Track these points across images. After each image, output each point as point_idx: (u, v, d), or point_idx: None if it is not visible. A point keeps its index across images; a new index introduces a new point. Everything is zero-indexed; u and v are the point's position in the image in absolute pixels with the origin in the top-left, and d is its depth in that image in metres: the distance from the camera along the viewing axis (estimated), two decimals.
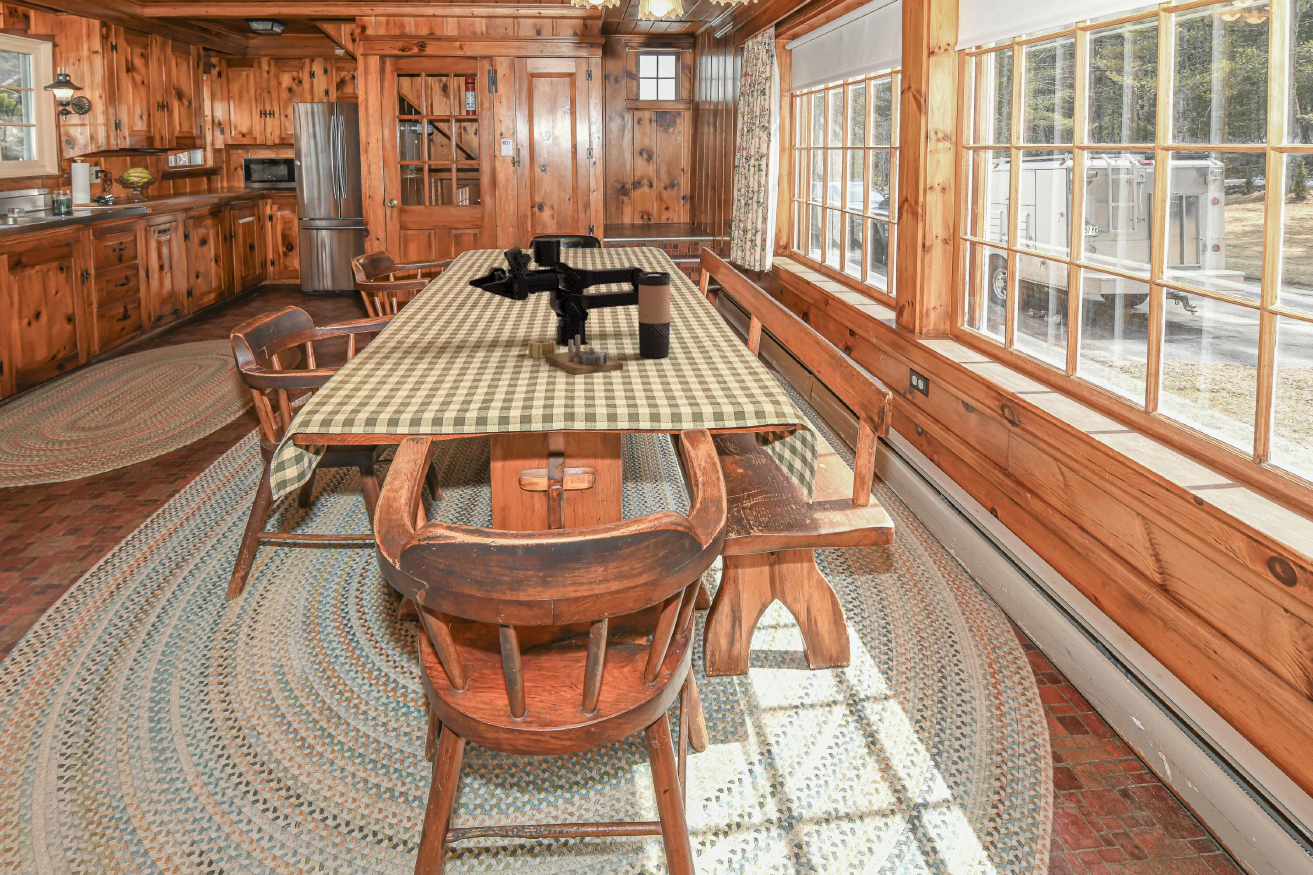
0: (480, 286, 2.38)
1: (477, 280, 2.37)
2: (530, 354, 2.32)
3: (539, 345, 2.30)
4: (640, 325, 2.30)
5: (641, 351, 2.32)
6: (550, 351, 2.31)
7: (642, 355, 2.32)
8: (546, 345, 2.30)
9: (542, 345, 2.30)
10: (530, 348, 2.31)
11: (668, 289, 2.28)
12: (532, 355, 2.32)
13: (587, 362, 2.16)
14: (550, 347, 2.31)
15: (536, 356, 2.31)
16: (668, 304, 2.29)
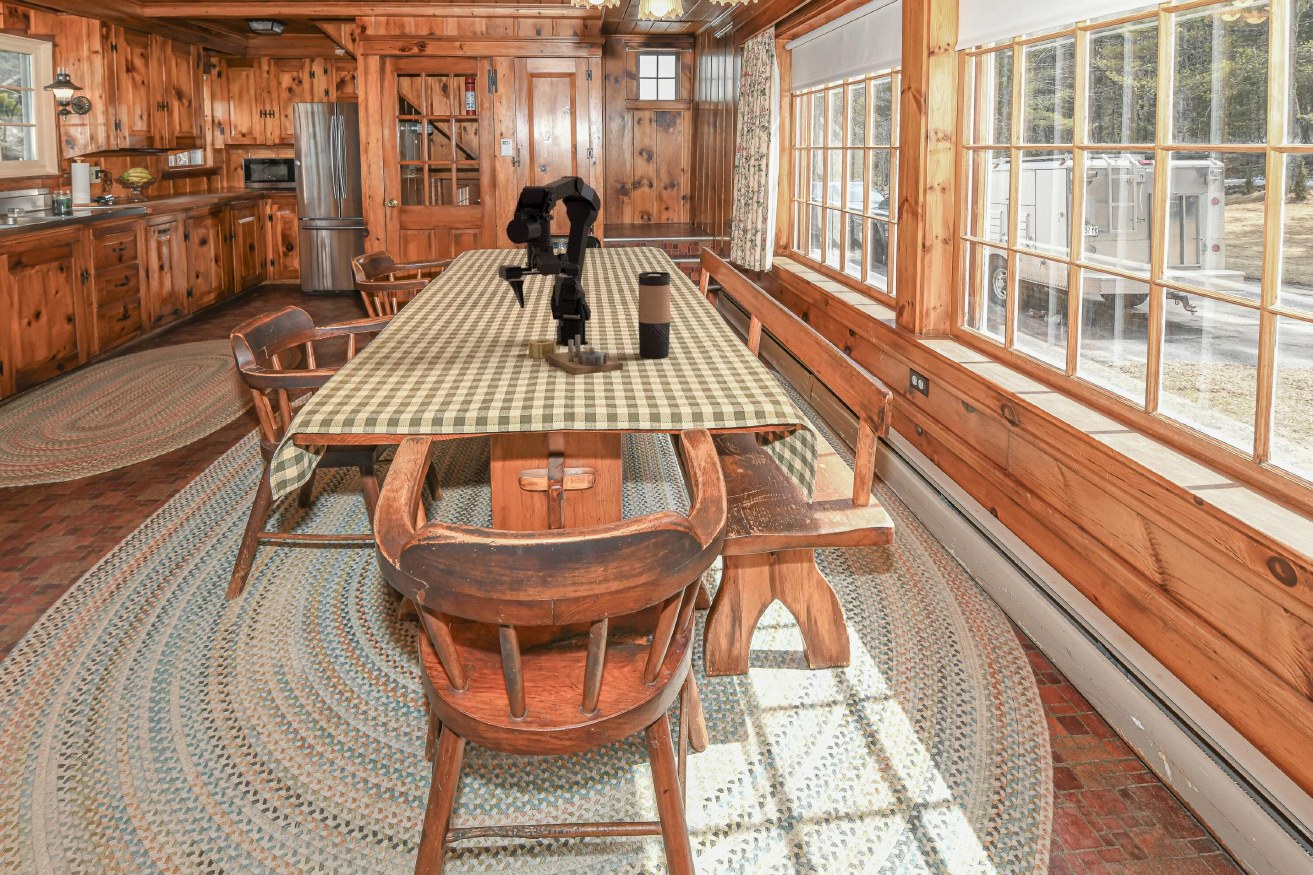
0: None
1: None
2: (530, 354, 2.32)
3: (539, 345, 2.30)
4: (640, 325, 2.30)
5: (641, 351, 2.32)
6: (550, 351, 2.31)
7: (642, 355, 2.32)
8: (546, 345, 2.30)
9: (542, 345, 2.30)
10: (530, 348, 2.31)
11: (668, 289, 2.28)
12: (532, 355, 2.32)
13: (587, 362, 2.16)
14: (550, 347, 2.31)
15: (536, 356, 2.31)
16: (668, 304, 2.29)
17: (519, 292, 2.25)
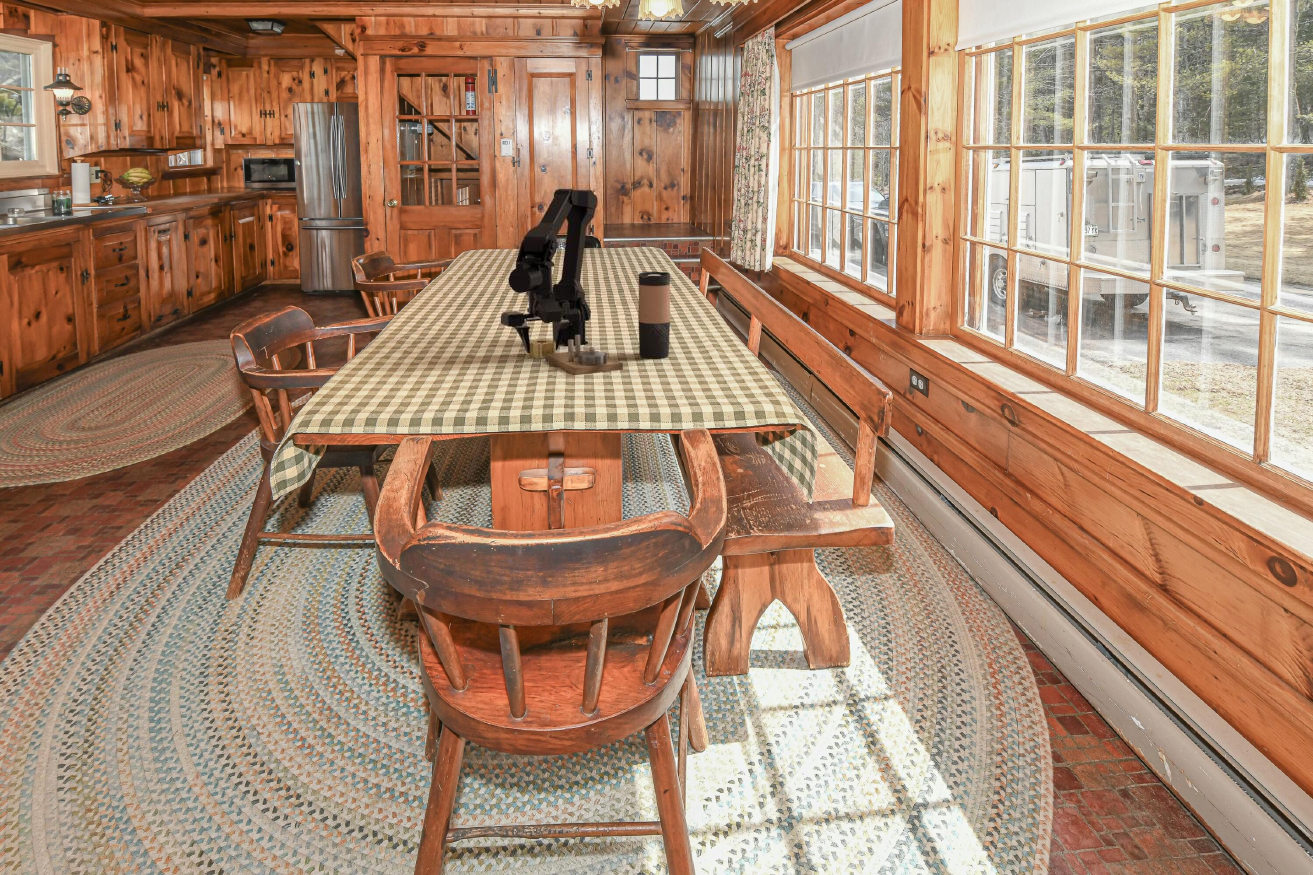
0: None
1: None
2: (530, 354, 2.32)
3: (539, 345, 2.30)
4: (640, 325, 2.30)
5: (641, 351, 2.32)
6: (550, 351, 2.31)
7: (642, 355, 2.32)
8: (546, 345, 2.30)
9: (542, 345, 2.30)
10: (530, 348, 2.31)
11: (668, 289, 2.28)
12: (532, 355, 2.32)
13: (587, 362, 2.16)
14: (550, 347, 2.31)
15: (536, 356, 2.31)
16: (668, 304, 2.29)
17: (525, 338, 2.29)
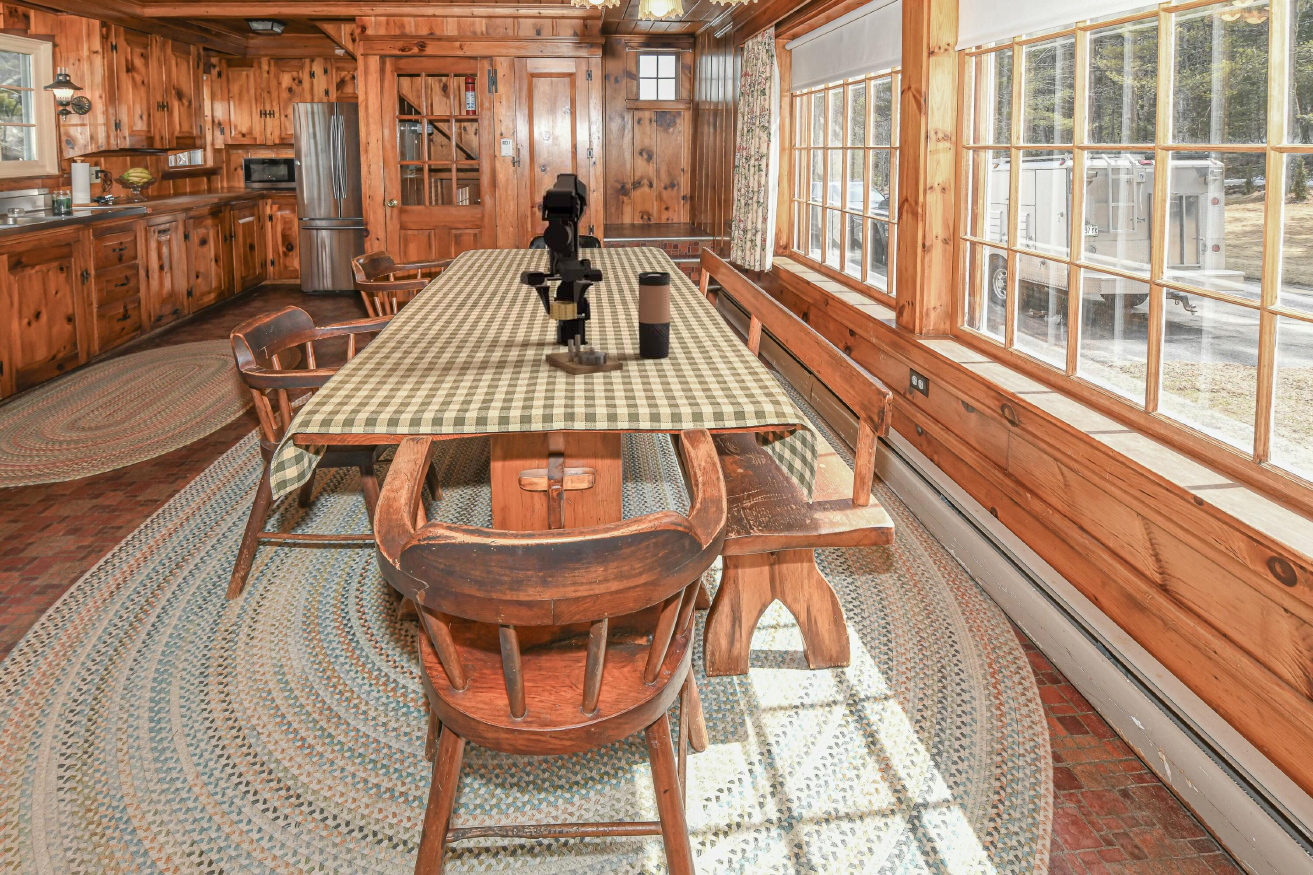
0: None
1: None
2: (550, 315, 2.24)
3: (559, 306, 2.22)
4: (640, 325, 2.30)
5: (641, 351, 2.32)
6: (571, 312, 2.24)
7: (642, 355, 2.32)
8: (567, 306, 2.22)
9: (562, 306, 2.22)
10: (550, 309, 2.24)
11: (668, 289, 2.28)
12: (552, 316, 2.24)
13: (587, 362, 2.16)
14: (570, 308, 2.23)
15: (556, 317, 2.23)
16: (668, 304, 2.29)
17: (545, 298, 2.21)
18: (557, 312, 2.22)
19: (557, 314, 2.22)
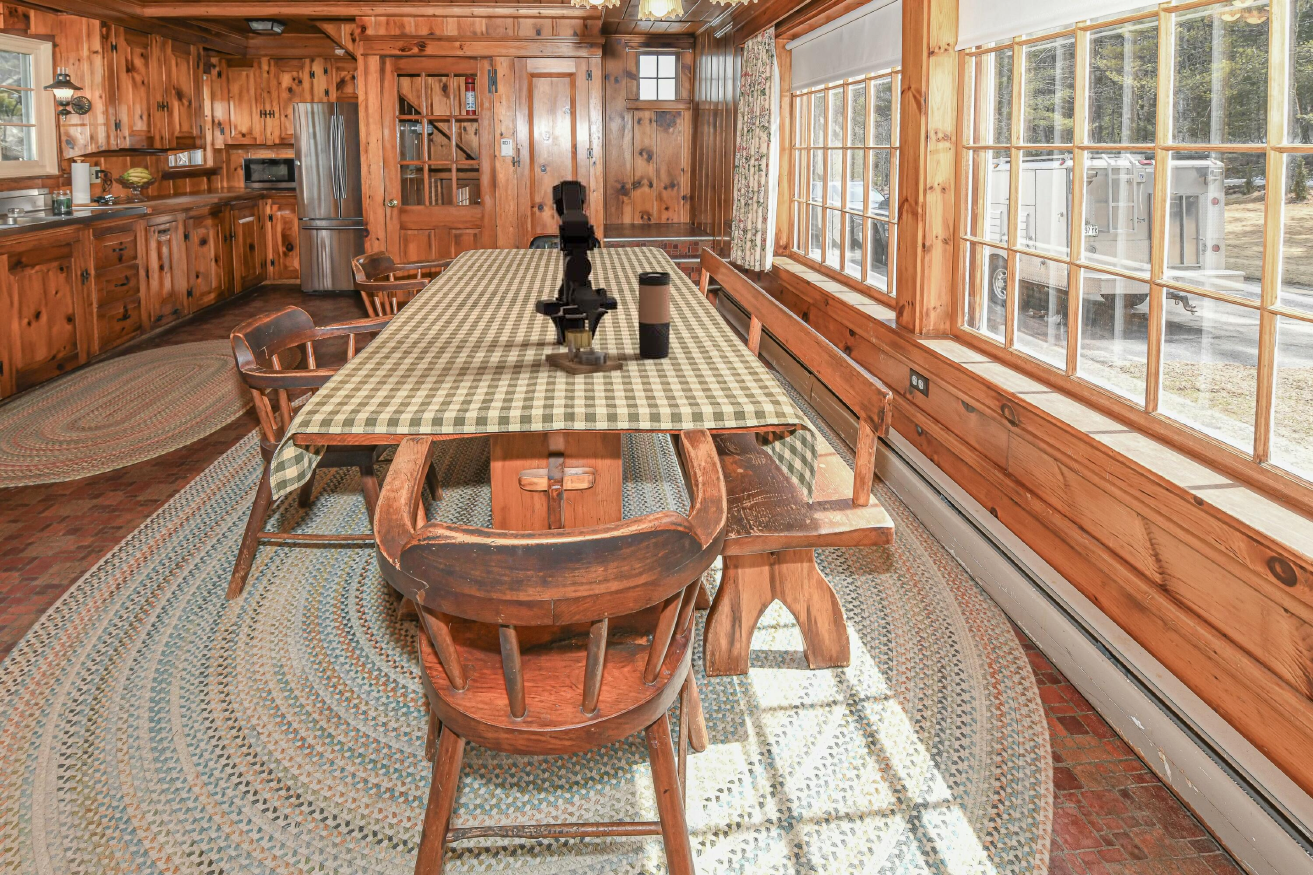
0: None
1: None
2: (565, 344, 2.24)
3: (575, 334, 2.22)
4: (640, 325, 2.30)
5: (641, 351, 2.32)
6: (586, 341, 2.23)
7: (642, 355, 2.32)
8: (582, 334, 2.22)
9: (578, 334, 2.22)
10: None
11: (668, 289, 2.28)
12: (567, 345, 2.23)
13: (587, 362, 2.16)
14: (586, 337, 2.23)
15: None
16: (668, 304, 2.29)
17: (561, 327, 2.21)
18: (573, 341, 2.22)
19: (573, 343, 2.22)
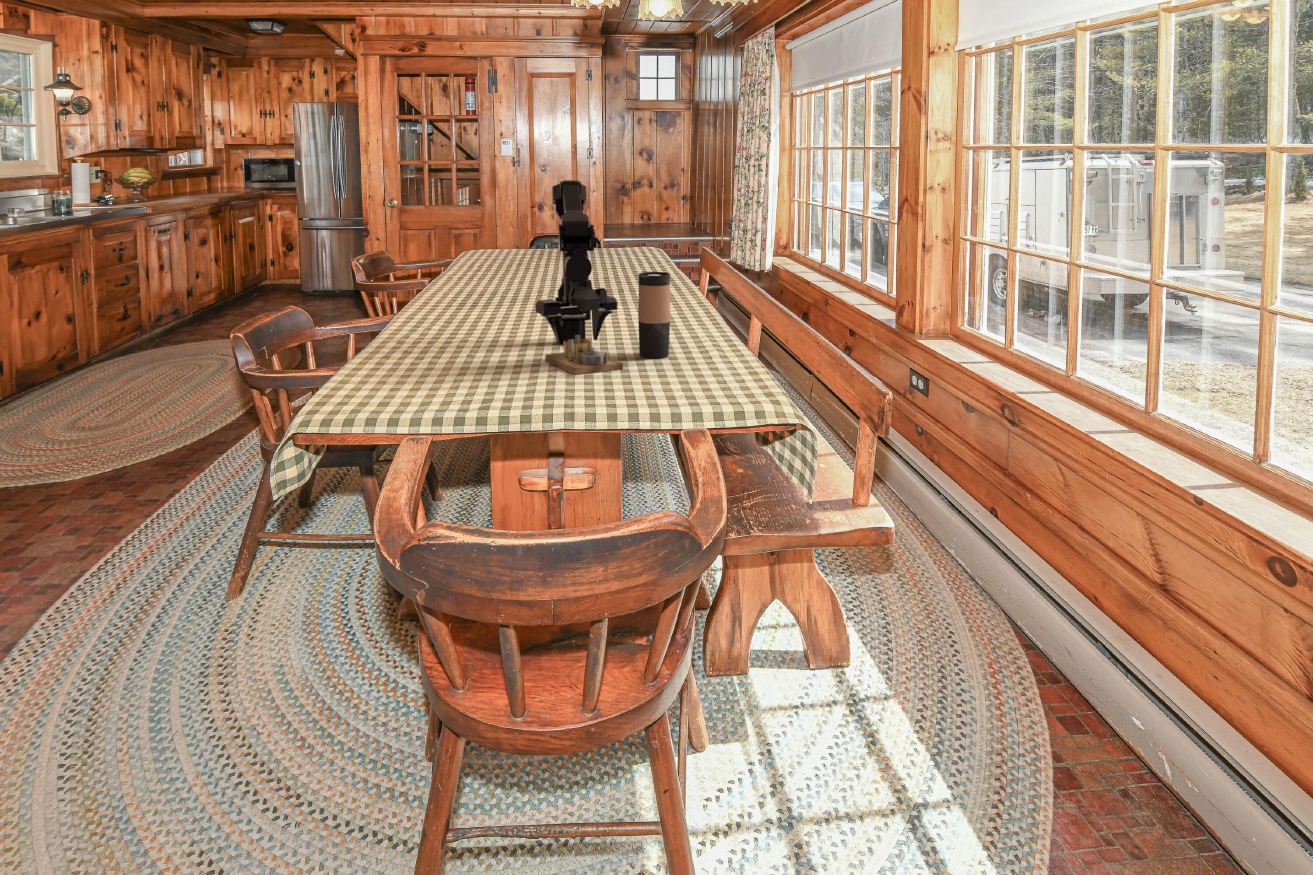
0: None
1: None
2: (566, 354, 2.24)
3: (575, 345, 2.22)
4: (640, 325, 2.30)
5: (641, 351, 2.32)
6: None
7: (642, 355, 2.32)
8: (582, 345, 2.22)
9: (578, 345, 2.22)
10: (566, 348, 2.24)
11: (668, 289, 2.28)
12: None
13: (587, 362, 2.16)
14: (586, 348, 2.24)
15: None
16: (668, 304, 2.29)
17: (557, 327, 2.20)
18: None
19: None
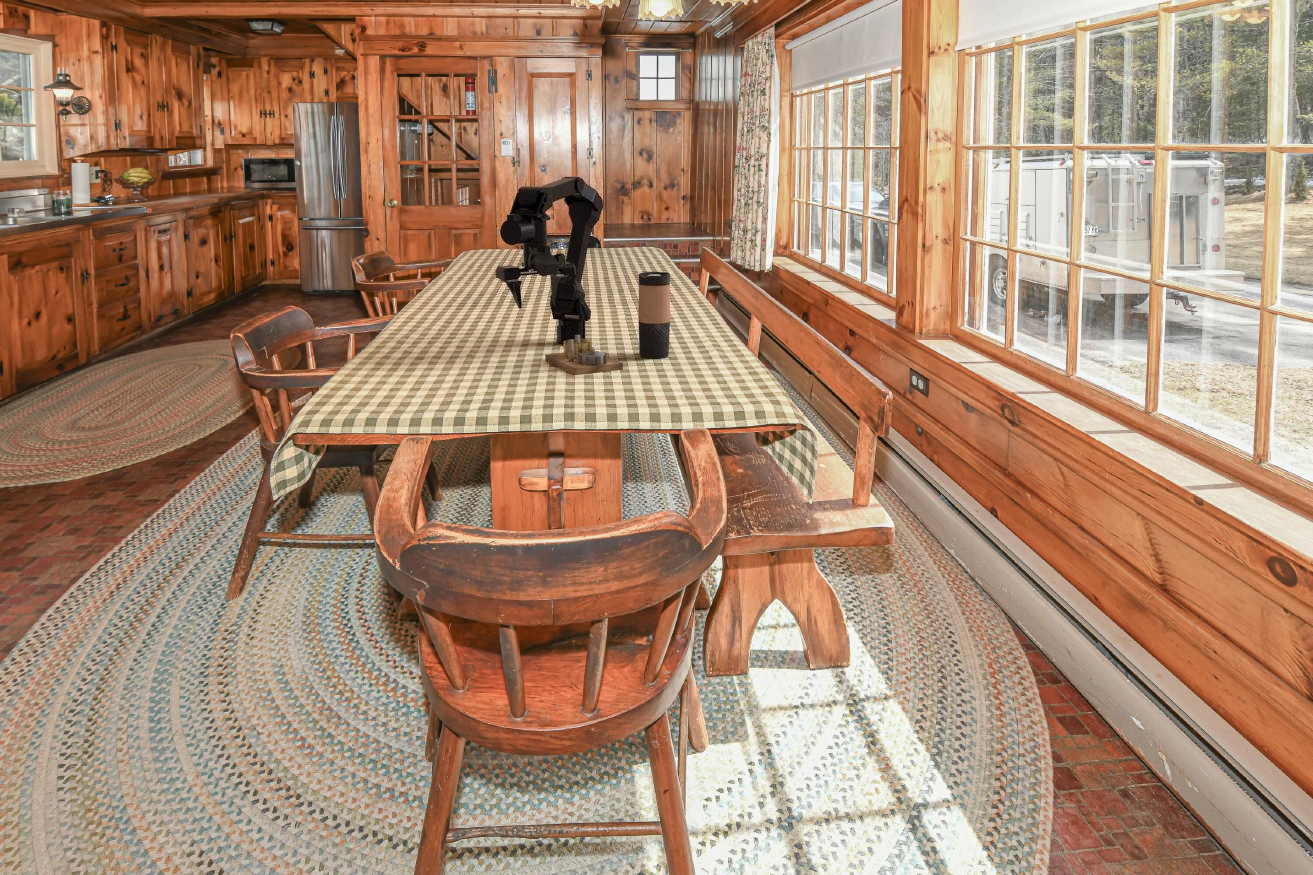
0: None
1: None
2: (566, 354, 2.24)
3: (575, 345, 2.22)
4: (640, 325, 2.30)
5: (641, 351, 2.32)
6: None
7: (642, 355, 2.32)
8: (582, 345, 2.22)
9: (578, 345, 2.22)
10: (566, 348, 2.24)
11: (668, 289, 2.28)
12: None
13: (587, 362, 2.16)
14: (586, 348, 2.24)
15: None
16: (668, 304, 2.29)
17: (517, 293, 2.26)
18: None
19: None
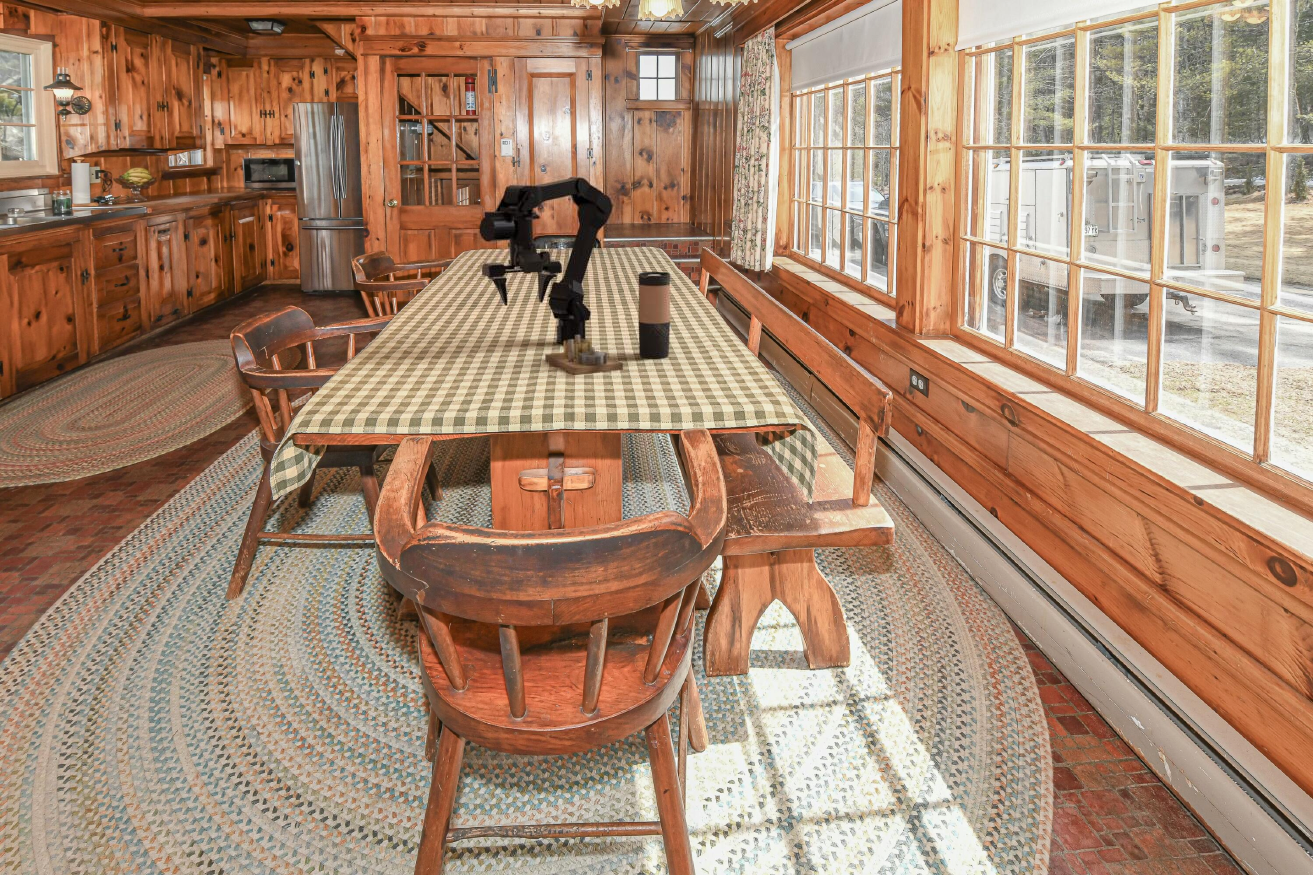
0: None
1: None
2: (566, 354, 2.24)
3: (575, 345, 2.22)
4: (640, 325, 2.30)
5: (641, 351, 2.32)
6: None
7: (642, 355, 2.32)
8: (582, 345, 2.22)
9: (578, 345, 2.22)
10: (566, 348, 2.24)
11: (668, 289, 2.28)
12: None
13: (587, 362, 2.16)
14: (586, 348, 2.24)
15: None
16: (668, 304, 2.29)
17: (502, 290, 2.29)
18: None
19: None
